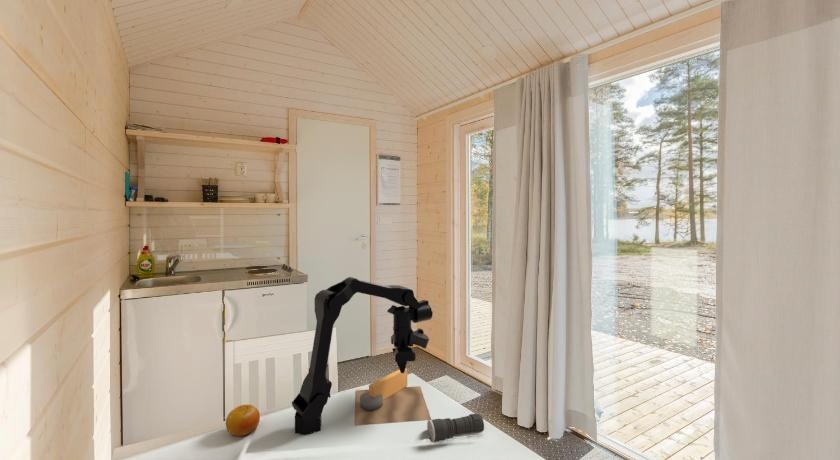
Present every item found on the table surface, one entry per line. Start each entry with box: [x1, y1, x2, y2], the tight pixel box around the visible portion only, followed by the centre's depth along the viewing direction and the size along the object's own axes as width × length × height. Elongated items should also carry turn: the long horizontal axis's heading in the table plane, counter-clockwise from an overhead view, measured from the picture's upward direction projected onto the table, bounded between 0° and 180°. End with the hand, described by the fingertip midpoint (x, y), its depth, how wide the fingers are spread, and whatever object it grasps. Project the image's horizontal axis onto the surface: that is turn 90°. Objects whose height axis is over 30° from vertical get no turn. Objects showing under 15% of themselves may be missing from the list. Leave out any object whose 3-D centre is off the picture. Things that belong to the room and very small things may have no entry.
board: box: [354, 385, 432, 426], centre depth 126 cm, size 22×22×2 cm
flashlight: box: [426, 413, 485, 443], centre depth 112 cm, size 15×5×5 cm, turn 108°
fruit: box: [225, 404, 261, 437], centre depth 113 cm, size 9×9×8 cm
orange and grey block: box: [360, 368, 408, 410], centre depth 131 cm, size 20×7×6 cm, turn 144°
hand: (402, 372), depth 131 cm, fingers closed
